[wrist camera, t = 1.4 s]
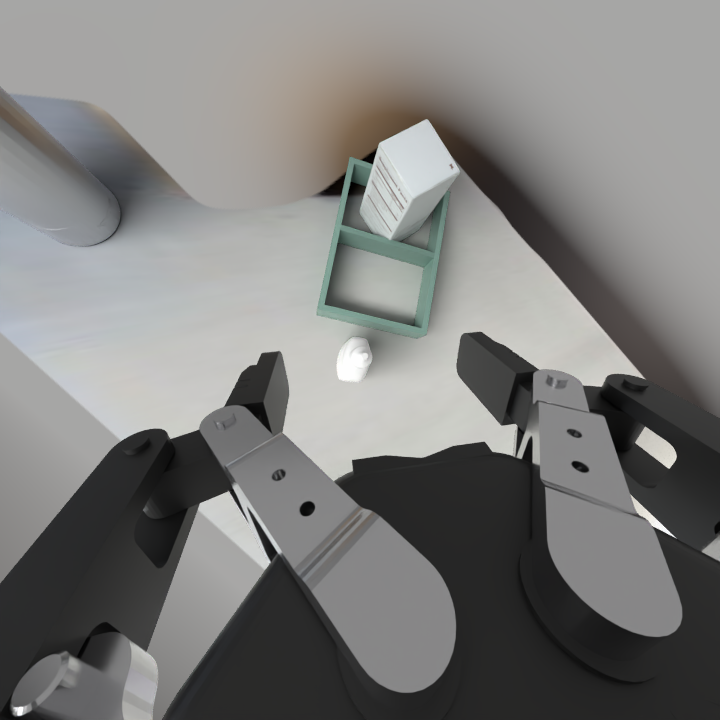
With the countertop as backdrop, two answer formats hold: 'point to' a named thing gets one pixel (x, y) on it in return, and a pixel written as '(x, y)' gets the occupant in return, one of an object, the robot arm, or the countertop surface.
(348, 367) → the eye dropper bottle
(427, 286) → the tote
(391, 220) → the supplement box
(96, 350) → the countertop surface
